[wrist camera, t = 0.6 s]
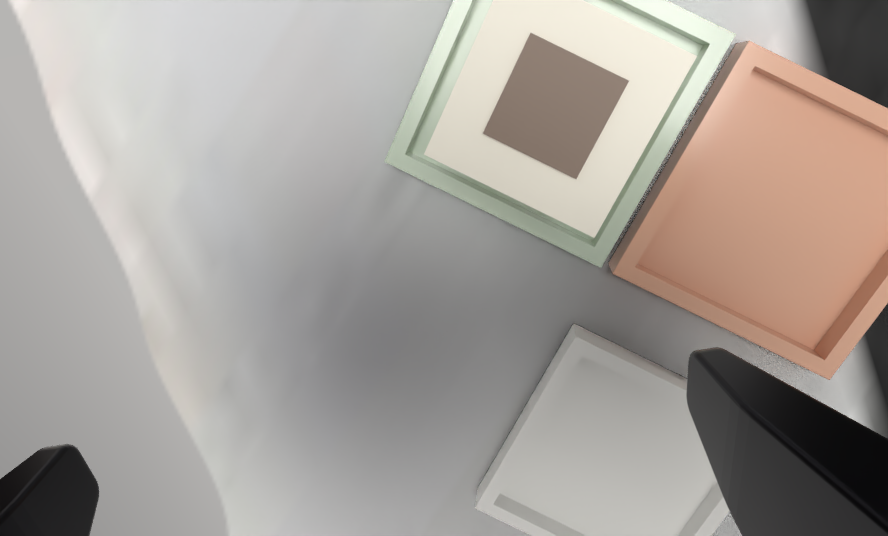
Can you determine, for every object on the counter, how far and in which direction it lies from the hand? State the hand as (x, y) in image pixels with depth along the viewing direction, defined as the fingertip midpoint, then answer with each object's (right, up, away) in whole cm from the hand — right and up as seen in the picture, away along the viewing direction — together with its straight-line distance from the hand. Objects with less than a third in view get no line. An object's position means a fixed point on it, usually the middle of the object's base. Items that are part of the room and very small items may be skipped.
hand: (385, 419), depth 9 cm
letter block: (+4, +7, +10) cm, 13 cm away
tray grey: (+7, -5, +14) cm, 16 cm away
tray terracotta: (+11, +4, +11) cm, 16 cm away
